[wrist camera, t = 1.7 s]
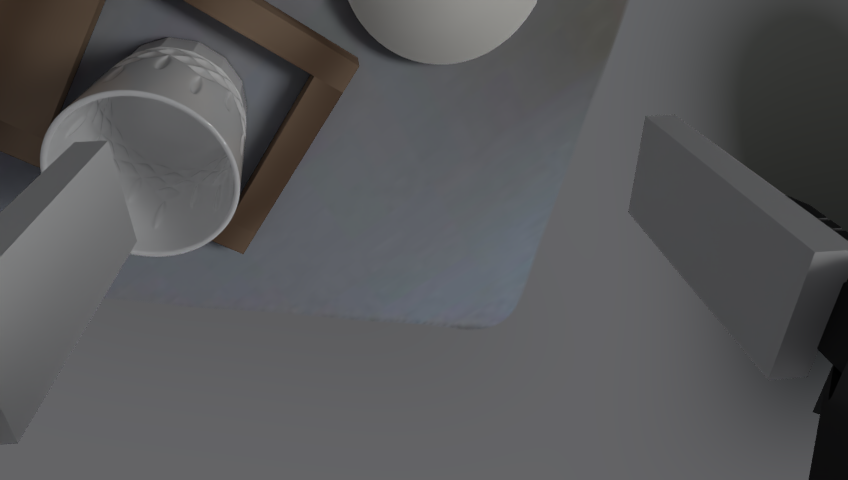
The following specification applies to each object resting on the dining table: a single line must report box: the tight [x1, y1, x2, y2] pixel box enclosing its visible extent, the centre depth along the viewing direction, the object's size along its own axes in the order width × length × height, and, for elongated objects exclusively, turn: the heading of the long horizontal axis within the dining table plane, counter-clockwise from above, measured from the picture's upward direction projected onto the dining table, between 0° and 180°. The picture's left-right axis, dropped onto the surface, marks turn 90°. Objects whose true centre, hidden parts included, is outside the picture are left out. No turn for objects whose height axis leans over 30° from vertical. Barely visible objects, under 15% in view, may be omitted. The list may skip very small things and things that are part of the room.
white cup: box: [40, 37, 247, 257], centre depth 30 cm, size 8×8×10 cm
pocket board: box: [0, 0, 359, 254], centre depth 32 cm, size 20×14×2 cm
